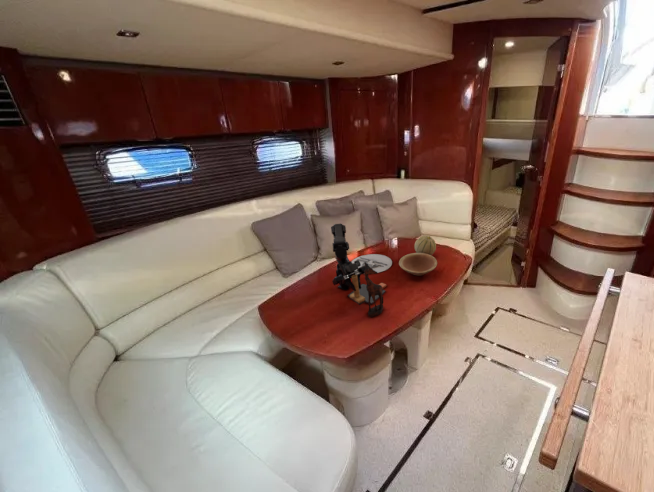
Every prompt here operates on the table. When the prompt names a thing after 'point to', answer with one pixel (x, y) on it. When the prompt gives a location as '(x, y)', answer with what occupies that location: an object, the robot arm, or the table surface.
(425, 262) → the bowl
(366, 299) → the board
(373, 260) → the plate
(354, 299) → the tan wooden tall post
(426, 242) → the cantaloupe
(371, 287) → the statue
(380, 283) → the block
